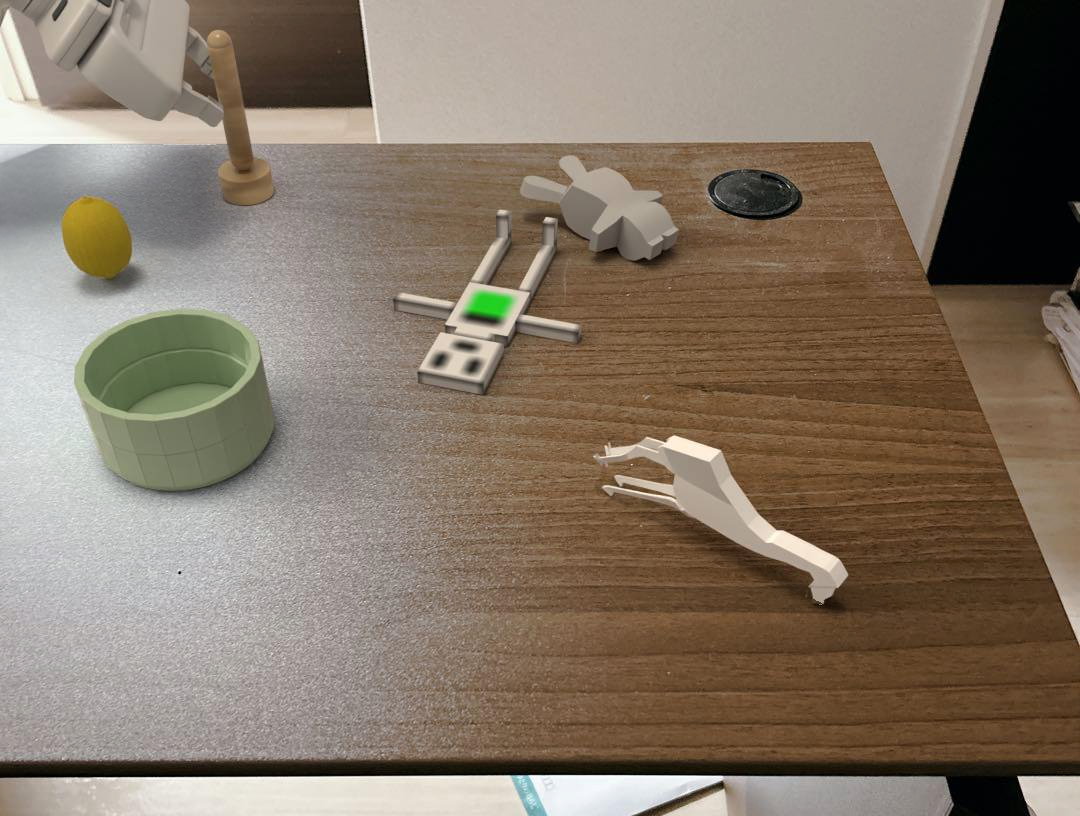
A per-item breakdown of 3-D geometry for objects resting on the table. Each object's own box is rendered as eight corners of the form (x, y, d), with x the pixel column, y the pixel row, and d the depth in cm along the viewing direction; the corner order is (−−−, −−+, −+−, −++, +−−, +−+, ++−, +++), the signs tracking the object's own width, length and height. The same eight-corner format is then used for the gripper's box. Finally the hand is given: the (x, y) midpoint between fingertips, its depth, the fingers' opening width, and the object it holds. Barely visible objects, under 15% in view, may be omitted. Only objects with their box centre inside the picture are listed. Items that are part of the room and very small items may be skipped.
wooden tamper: (216, 204, 110) (181, 41, 98) (230, 178, 113) (197, 18, 102) (267, 206, 110) (237, 43, 98) (279, 180, 113) (252, 20, 102)
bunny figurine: (635, 243, 98) (511, 165, 104) (626, 290, 102) (507, 213, 108) (701, 202, 103) (579, 130, 109) (690, 249, 107) (573, 177, 113)
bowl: (75, 488, 82) (46, 414, 77) (132, 377, 91) (109, 304, 86) (251, 498, 82) (233, 425, 77) (291, 386, 91) (278, 313, 85)
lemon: (67, 276, 101) (39, 194, 95) (124, 254, 103) (101, 173, 98) (94, 303, 98) (67, 221, 92) (152, 281, 101) (130, 199, 95)
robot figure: (444, 231, 107) (354, 370, 92) (442, 200, 104) (350, 336, 90) (614, 260, 104) (549, 407, 89) (616, 228, 101) (550, 374, 87)
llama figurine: (625, 566, 86) (841, 612, 74) (585, 438, 80) (811, 466, 68) (639, 552, 87) (854, 595, 75) (600, 425, 81) (825, 450, 69)
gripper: (74, -26, 104) (205, 71, 112) (47, 70, 90) (198, 172, 99) (111, -81, 101) (242, 22, 110) (88, 9, 88) (240, 120, 96)
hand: (221, 94), depth 104 cm, fingers open, 8 cm apart
